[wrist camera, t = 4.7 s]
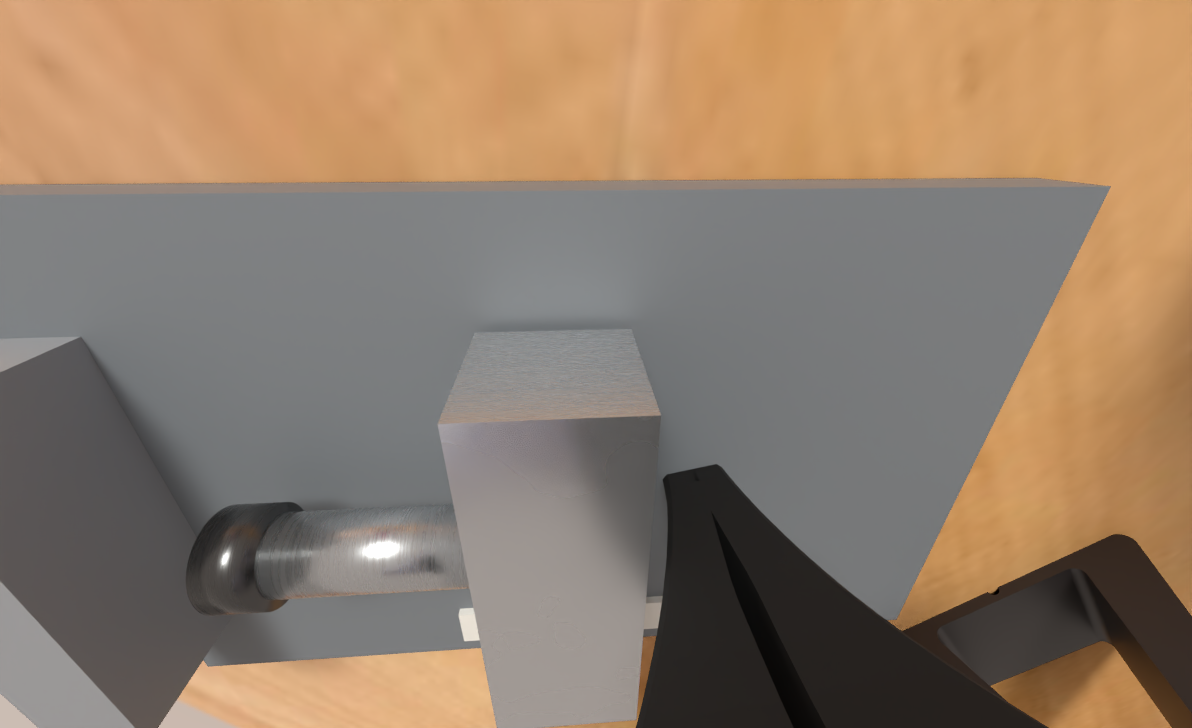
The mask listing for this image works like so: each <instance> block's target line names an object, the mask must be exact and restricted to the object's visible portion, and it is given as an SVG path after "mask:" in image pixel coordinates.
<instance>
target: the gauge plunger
mask: <svg viewBox="0 0 1192 728" xmlns="http://www.w3.org/2000/svg"><path fill="white" fill-rule="evenodd" d="M660 423H661V414H660V411H659V408H658V405H657V402H656V399H655V396H654V393H653V390H652V388H651V385H650V382H649V379H648V376H647V373H646V370H645V367H644V364H643V362H642V359H641V356H640V353H639V350H638V347H637V344H636V341H635V338H634V335H633V333H632V330H631V328H629V329H592V330H554V331H516V332H478V333H475V334H474V336H473V339H472V341H471V343H470V346H469V348H468V351H467V353H466V356H465V358H464V361H463V363H462V365H461V368H460V370H459V373H458V375H457V378H456V380H455V382H454V385H453V387H452V390H451V392H450V395H449V397H448V400H447V402H446V404H445V407H444V409H443V412H442V414H441V417H440V419H439V422H438V429H439V434H440V440H441V445H442V450H443V455H444V460H445V465H446V470H447V475H448V480H449V485H450V491H451V496H452V501H453V504H443V505H422V506H402V507H382V508H361V509H341V510H320V511H304V510H303V509H302V508H301V507H300V506H299V505H298V504H296V503H294V502H274V503H254V504H235V505H230V506H227V507H225V508H223V509H221V510H220V511H218V512H217V513H216V514H215V515H213V516H212V517H211V518H210V519H209V520H208V522H207V523H206V524H205V525H204V527H203V528H202V530H201V531H200V533H199V535H198V536H197V538H196V540H195V542H194V545H193V547H192V550H191V552H190V555H189V559H188V563H187V570H186V589H187V594H188V597H189V600H190V602H191V604H192V606H193V607H194V608H195V609H196V610H197V611H198V612H199V613H201V614H203V615H207V616H216V615H232V614H248V613H265V612H272V611H275V610H277V609H279V608H280V607H282V606H283V605H284V604H285V603H286V602H287V601H288V600H289V599H301V598H318V597H334V596H351V595H367V594H384V593H400V592H417V591H433V590H450V589H466V588H470V593H471V598H472V603H473V608H474V613H475V618H476V623H477V629H478V634H479V639H480V644H481V649H482V654H483V659H484V664H485V669H486V675H487V680H488V685H489V690H490V695H491V700H492V705H493V710H494V715H495V721H496V726H497V728H542V727H554V726H567V725H580V724H592V723H605V722H617V721H630V720H636V718H637V705H638V693H639V681H640V669H641V656H642V644H643V632H644V619H645V607H646V595H647V583H648V570H649V558H650V546H651V533H652V521H653V509H654V497H655V484H656V472H657V460H658V448H659V435H660Z"/></svg>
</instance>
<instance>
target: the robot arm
mask: <svg viewBox="0 0 1192 728" xmlns="http://www.w3.org/2000/svg"><path fill="white" fill-rule="evenodd" d="M663 484H664V490H665V495H666V500H667V515H668V534H667V558H666V569H665V578H664V587H663V597H662V604H661V611H660V618H659V624H658V630H657V636H656V641H655V647H654V652H653V657H652V662H651V666H650V671H649V676H648V680H647V685H646V689H645V694H644V698H643V702H642V706H641V710H640V714H639V718H638V722H637V726H636V728H1048V727H1046V726H1045V725H1043V724H1041V723H1040V722H1038V721H1037V720H1035V719H1033V718H1032V717H1030V716H1029V715H1027V714H1025V713H1024V712H1022V711H1021V710H1019V709H1017V708H1016V707H1014V706H1013V705H1011V704H1009V703H1008V702H1006V701H1005V700H1003V699H1001V698H1000V697H998V696H997V695H995V694H993V693H992V692H990V691H989V690H987V689H985V688H984V687H983V686H981V685H980V684H978V683H977V682H975V681H974V680H972V679H971V678H969V677H968V676H966V675H965V674H963V673H962V672H960V671H959V670H957V669H956V668H954V667H953V666H951V665H950V664H948V663H947V662H945V661H944V660H942V659H941V658H939V657H938V656H937V655H935V654H934V653H932V652H931V651H929V650H928V649H926V648H925V647H923V646H922V645H920V644H919V643H917V642H916V641H914V640H913V639H912V638H910V637H909V636H907V635H906V634H905V633H903V632H902V631H901V630H899V629H898V628H896V627H895V626H894V625H892V624H891V623H890V622H888V621H887V620H886V619H884V618H883V617H882V616H880V615H879V614H877V613H876V612H875V611H874V610H872V609H871V608H870V607H868V606H867V605H866V604H865V603H863V602H862V601H861V600H859V599H858V598H857V597H856V596H854V595H853V594H852V593H851V592H849V591H848V590H847V589H846V588H844V587H843V586H842V585H841V584H839V583H838V582H837V581H836V580H835V579H834V578H832V577H831V576H830V575H829V574H828V573H826V572H825V571H824V570H823V569H822V568H821V567H820V566H818V565H817V564H816V563H815V562H814V561H813V560H812V559H810V558H809V557H808V556H807V555H806V554H805V553H804V552H803V551H801V550H800V549H799V548H798V547H797V546H796V545H795V544H794V543H793V542H792V541H791V540H790V539H788V538H787V537H786V536H785V535H784V534H783V533H782V532H781V531H780V530H779V529H778V528H777V527H776V526H775V525H774V524H773V523H772V522H771V521H770V520H769V519H768V518H767V517H766V516H765V515H764V514H763V513H762V512H761V511H760V510H759V509H758V508H757V507H756V506H755V505H754V504H753V503H752V501H751V500H750V499H749V498H748V497H747V496H746V495H745V494H744V493H743V492H742V491H741V489H740V488H739V487H738V486H737V485H736V484H735V483H734V481H733V480H732V479H731V478H730V477H729V475H728V474H727V473H726V472H725V470H724V469H723V468H722V467H721V466H719V465H718V464H714V465H709V466H705V467H700V468H695V469H690V470H686V471H681V472H676V473H671V474H667V475H666V476H665V477H664V478H663Z"/></svg>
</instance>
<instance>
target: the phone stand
mask: <svg viewBox="0 0 1192 728" xmlns="http://www.w3.org/2000/svg"><path fill="white" fill-rule="evenodd" d="M998 589H999V593H998V594H997V595H992V594H990V593H988V592H987V593H985V594H983V595H980V596H978V597H976V598H974V599H972V600H970V601H967V602H965V603H963V604H961V605H959V606H956V607H954V608H952V609H950V610H948V611H946V612H943V613H941V614H939V615H937V616H935V617H932V618H930V619H928V620H926V621H924V622H922V623H919V624H917V625H915V626H913V627H911V628H908V629H906V630H904V631H902V632H903V633H905V634H906V635H907V636H909V637H910V638H912V639H913V640H914V641H916V642H917V643H919V644H920V645H922V646H923V647H925V648H926V649H928V650H929V651H931V652H932V653H934V654H935V655H937V656H938V657H939V658H941V659H942V660H944V661H945V662H947V663H948V664H950V665H951V666H953V667H954V668H956V669H957V670H959V671H960V672H962V673H963V674H965V675H966V676H968V677H969V678H971V679H972V680H974V681H975V682H977V683H978V684H980V685H981V686H983V687H984V688H985V689H987V690H989V691H990V692H992V693H993V694H995V695H997V696H998V697H1000V698H1001V699H1003V700H1005V699H1004V698H1003V697H1001V696H1000V695H999V694H998V693H997V692H996V691H995V690H994V689H993V688H991V687H990V686H991V685H993V684H996V683H998V682H1000V681H1003V680H1005V679H1008V678H1010V677H1013V676H1015V675H1018V674H1020V673H1023V672H1025V671H1027V670H1030V669H1032V668H1035V667H1037V666H1040V665H1042V664H1045V663H1047V662H1050V661H1052V660H1054V659H1057V658H1059V657H1062V656H1064V655H1067V654H1069V653H1072V652H1074V651H1077V650H1079V649H1081V648H1084V647H1086V646H1089V645H1091V644H1094V643H1096V642H1099V641H1105V642H1108V643H1110V644H1112V645H1113V646H1114V647H1115V648H1116V650H1117V651H1118V652H1119V654H1120V655H1121V657H1122V658H1123V659H1124V661H1125V662H1126V664H1127V665H1128V666H1129V668H1130V669H1131V671H1132V672H1133V673H1134V675H1135V676H1136V678H1137V679H1138V681H1139V682H1140V683H1141V685H1142V686H1143V688H1144V689H1145V690H1146V692H1147V693H1148V695H1149V696H1150V697H1151V699H1152V700H1153V702H1154V703H1155V705H1156V706H1157V707H1158V709H1159V710H1160V712H1161V713H1162V714H1163V716H1164V717H1165V719H1166V720H1167V721H1168V723H1169V724H1170V726H1171V727H1172V728H1192V616H1191V615H1190V613H1189V612H1188V611H1187V609H1186V608H1185V607H1184V605H1183V604H1182V603H1181V601H1180V600H1179V599H1178V597H1177V596H1176V595H1175V593H1174V592H1173V591H1172V589H1171V588H1170V587H1169V585H1168V584H1167V582H1166V581H1165V580H1164V578H1163V577H1162V576H1161V574H1160V573H1159V572H1158V570H1157V569H1156V568H1155V566H1154V565H1153V564H1152V562H1151V561H1150V560H1149V558H1148V557H1147V556H1146V554H1145V553H1144V551H1143V550H1142V549H1141V547H1140V546H1139V545H1138V543H1137V542H1136V541H1135V540H1134V539H1132V538H1130V537H1128V536H1125V535H1111V536H1109V537H1107V538H1105V539H1103V540H1100V541H1098V542H1096V543H1094V544H1092V545H1089V546H1087V547H1085V548H1083V549H1081V550H1079V551H1076V552H1074V553H1072V554H1070V555H1068V556H1065V557H1063V558H1061V559H1059V560H1057V561H1055V562H1052V563H1050V564H1048V565H1046V566H1044V567H1041V568H1039V569H1037V570H1035V571H1033V572H1031V573H1028V574H1026V575H1024V576H1022V577H1020V578H1017V579H1015V580H1013V581H1011V582H1009V583H1007V584H1004V585H1002V586H1000V587H998ZM1005 701H1006V700H1005ZM1006 702H1007V701H1006Z"/></svg>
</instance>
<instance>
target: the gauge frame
mask: <svg viewBox="0 0 1192 728" xmlns="http://www.w3.org/2000/svg"><path fill="white" fill-rule="evenodd" d="M1110 187H1111V186H1103V185H1094V184H1085V183H1076V182H1067V181H1059V180H1050V179H1041V178H965V179H809V180H653V181H497V182H341V183H185V184H29V185H0V694H1V695H2V696H4V697H5V698H6V699H7V700H8V701H9V702H10V703H11V704H13V705H14V706H15V707H16V708H17V709H18V710H19V711H20V712H21V713H23V714H24V715H25V716H26V717H27V718H28V719H29V720H30V721H31V722H33V723H34V724H35V725H36V726H37V727H38V728H158V727H159V725H160V724H161V722H162V721H163V719H164V718H165V716H166V715H167V713H168V712H169V710H170V709H171V707H172V706H173V704H174V703H175V701H176V700H177V698H178V697H179V695H180V694H181V692H182V691H183V689H184V688H185V686H186V685H187V683H188V682H189V680H190V679H191V677H192V676H193V674H194V673H195V671H196V670H197V668H198V667H199V665H200V664H201V662H202V661H203V660H204V662H205V663H206V664H207V666H223V665H237V664H252V663H266V662H281V661H296V660H310V659H325V658H340V657H354V656H369V655H383V654H398V653H413V652H427V651H442V650H456V649H471V648H481V644H480V639H479V634H478V629H477V623H476V618H475V613H474V608H473V603H472V598H471V593H470V588H466V589H450V590H433V591H417V592H400V593H384V594H367V595H351V596H334V597H318V598H301V599H289V600H288V601H287V602H286V603H285V604H284V605H283V606H282V607H280V608H279V609H277V610H275V611H272V612H265V613H248V614H232V615H216V616H207V615H203V614H201V613H199V612H198V611H197V610H196V609H195V608H194V607H193V606H192V604H191V602H190V600H189V597H188V594H187V589H186V570H187V563H188V559H189V555H190V552H191V550H192V547H193V545H194V542H195V540H196V538H197V536H198V535H199V533H200V531H201V530H202V528H203V527H204V525H205V524H206V523H207V522H208V520H209V519H210V518H211V517H212V516H213V515H215V514H216V513H217V512H218V511H220V510H221V509H223V508H225V507H227V506H230V505H235V504H254V503H274V502H294V503H296V504H298V505H299V506H300V507H301V508H302V509H303V510H304V511H320V510H341V509H361V508H382V507H402V506H422V505H443V504H453V501H452V496H451V491H450V485H449V480H448V475H447V470H446V465H445V460H444V455H443V450H442V445H441V440H440V434H439V429H438V422H439V419H440V417H441V414H442V412H443V409H444V407H445V404H446V402H447V400H448V397H449V395H450V392H451V390H452V387H453V385H454V382H455V380H456V378H457V375H458V373H459V370H460V368H461V365H462V363H463V361H464V358H465V356H466V353H467V351H468V348H469V346H470V343H471V341H472V339H473V336H474V334H475V333H478V332H516V331H554V330H592V329H629V328H631V330H632V333H633V335H634V338H635V341H636V344H637V347H638V350H639V353H640V356H641V359H642V362H643V364H644V367H645V370H646V373H647V376H648V379H649V382H650V385H651V388H652V390H653V393H654V396H655V399H656V402H657V405H658V408H659V411H660V414H661V423H660V435H659V448H658V460H657V472H656V484H655V497H654V509H653V521H652V533H651V546H650V558H649V570H648V583H647V595H646V607H645V619H644V632H643V637H646V636H657V630H658V624H659V618H660V611H661V604H662V597H663V587H664V578H665V569H666V558H667V534H668V515H667V500H666V495H665V490H664V484H663V478H664V477H665V476H666V475H667V474H671V473H676V472H681V471H686V470H690V469H695V468H700V467H705V466H709V465H714V464H718V465H719V466H721V467H722V468H723V469H724V470H725V472H726V473H727V474H728V475H729V477H730V478H731V479H732V480H733V481H734V483H735V484H736V485H737V486H738V487H739V488H740V489H741V491H742V492H743V493H744V494H745V495H746V496H747V497H748V498H749V499H750V500H751V501H752V503H753V504H754V505H755V506H756V507H757V508H758V509H759V510H760V511H761V512H762V513H763V514H764V515H765V516H766V517H767V518H768V519H769V520H770V521H771V522H772V523H773V524H774V525H775V526H776V527H777V528H778V529H779V530H780V531H781V532H782V533H783V534H784V535H785V536H786V537H787V538H788V539H790V540H791V541H792V542H793V543H794V544H795V545H796V546H797V547H798V548H799V549H800V550H801V551H803V552H804V553H805V554H806V555H807V556H808V557H809V558H810V559H812V560H813V561H814V562H815V563H816V564H817V565H818V566H820V567H821V568H822V569H823V570H824V571H825V572H826V573H828V574H829V575H830V576H831V577H832V578H834V579H835V580H836V581H837V582H838V583H839V584H841V585H842V586H843V587H844V588H846V589H847V590H848V591H849V592H851V593H852V594H853V595H854V596H856V597H857V598H858V599H859V600H861V601H862V602H863V603H865V604H866V605H867V606H868V607H870V608H871V609H872V610H874V611H875V612H876V613H877V614H879V615H880V616H882V617H883V618H884V619H886V620H895V619H897V617H898V615H899V613H900V611H901V609H902V607H903V605H904V603H905V601H906V599H907V597H908V595H909V593H910V591H911V589H912V587H913V585H914V583H915V581H916V579H917V577H918V575H919V573H920V571H921V569H922V567H923V565H924V563H925V561H926V559H927V557H928V555H929V553H930V551H931V549H932V547H933V545H934V543H935V541H936V539H937V537H938V534H939V532H940V530H941V528H942V526H943V524H944V522H945V520H946V518H947V516H948V514H949V512H950V510H951V508H952V506H953V504H954V502H955V500H956V498H957V496H958V494H959V492H960V490H961V488H962V486H963V484H964V482H965V480H966V478H967V476H968V474H969V472H970V470H971V468H972V466H973V464H974V462H975V460H976V458H977V456H978V454H979V452H980V450H981V448H982V446H983V444H984V442H985V440H986V438H987V436H988V434H989V431H990V429H991V427H992V425H993V423H994V421H995V419H996V417H997V415H998V413H999V411H1000V409H1001V407H1002V405H1003V403H1004V401H1005V399H1006V397H1007V395H1008V393H1009V391H1010V389H1011V387H1012V385H1013V383H1014V381H1015V379H1016V377H1017V375H1018V373H1019V371H1020V369H1021V367H1022V365H1023V363H1024V361H1025V359H1026V357H1027V355H1028V353H1029V351H1030V349H1031V347H1032V345H1033V343H1034V341H1035V339H1036V337H1037V335H1038V333H1039V331H1040V329H1041V326H1042V324H1043V322H1044V320H1045V318H1046V316H1047V314H1048V312H1049V310H1050V308H1051V306H1052V304H1053V302H1054V300H1055V298H1056V296H1057V294H1058V292H1059V290H1060V288H1061V286H1062V284H1063V282H1064V280H1065V278H1066V276H1067V274H1068V272H1069V270H1070V268H1071V266H1072V264H1073V262H1074V260H1075V258H1076V256H1077V254H1078V252H1079V250H1080V248H1081V246H1082V244H1083V242H1084V240H1085V238H1086V236H1087V234H1088V232H1089V230H1090V228H1091V226H1092V223H1093V221H1094V219H1095V217H1096V215H1097V213H1098V211H1099V209H1100V207H1101V205H1102V203H1103V201H1104V199H1105V197H1106V195H1107V193H1108V191H1109V189H1110Z"/></svg>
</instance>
